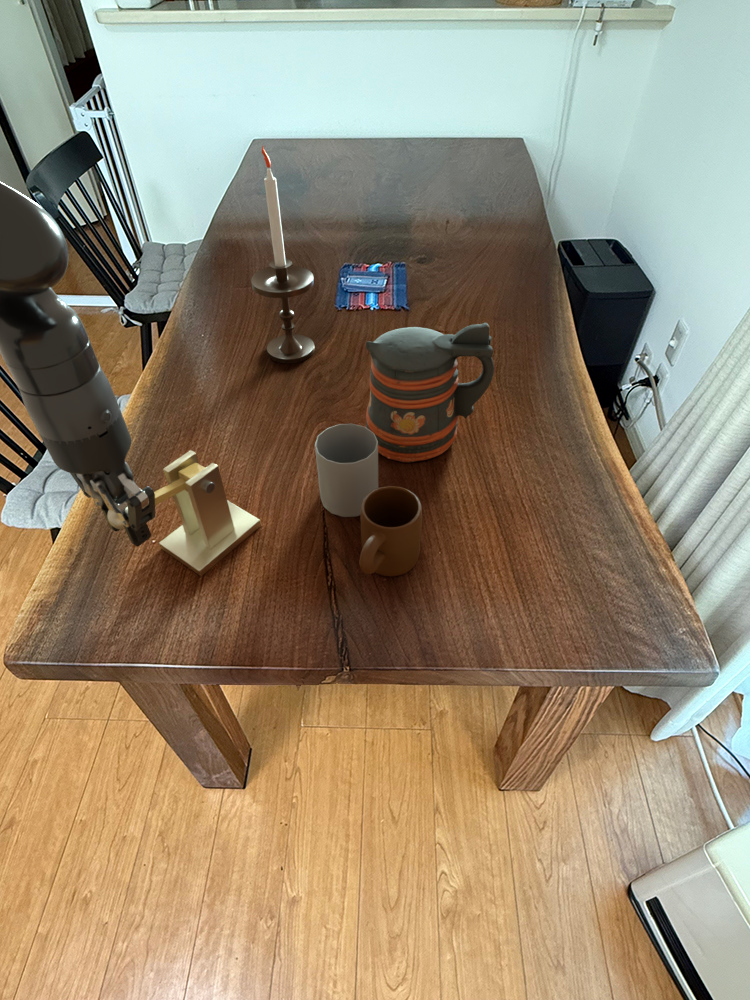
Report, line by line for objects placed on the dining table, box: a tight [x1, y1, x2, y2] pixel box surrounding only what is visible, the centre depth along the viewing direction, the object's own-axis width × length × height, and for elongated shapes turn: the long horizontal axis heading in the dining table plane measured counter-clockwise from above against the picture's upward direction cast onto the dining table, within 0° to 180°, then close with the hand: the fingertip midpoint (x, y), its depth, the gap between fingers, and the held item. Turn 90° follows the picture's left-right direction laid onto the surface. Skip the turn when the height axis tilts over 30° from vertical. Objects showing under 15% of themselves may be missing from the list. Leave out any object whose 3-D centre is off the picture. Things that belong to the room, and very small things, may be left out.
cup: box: [314, 423, 379, 518], centre depth 83 cm, size 8×8×10 cm
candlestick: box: [250, 145, 316, 364], centre depth 102 cm, size 11×11×35 cm
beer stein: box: [364, 322, 495, 463], centre depth 90 cm, size 19×15×20 cm
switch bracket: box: [158, 449, 262, 577], centre depth 77 cm, size 11×8×13 cm
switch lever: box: [107, 463, 206, 531], centre depth 70 cm, size 13×3×3 cm, turn 143°
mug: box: [359, 485, 423, 577], centre depth 74 cm, size 12×8×9 cm, turn 156°
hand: (131, 533), depth 69 cm, fingers closed on switch lever, 3 cm apart
